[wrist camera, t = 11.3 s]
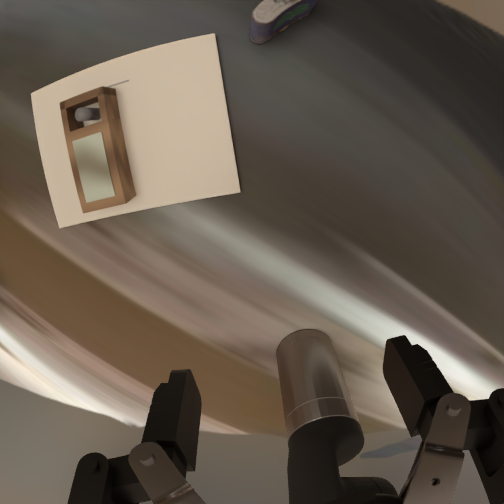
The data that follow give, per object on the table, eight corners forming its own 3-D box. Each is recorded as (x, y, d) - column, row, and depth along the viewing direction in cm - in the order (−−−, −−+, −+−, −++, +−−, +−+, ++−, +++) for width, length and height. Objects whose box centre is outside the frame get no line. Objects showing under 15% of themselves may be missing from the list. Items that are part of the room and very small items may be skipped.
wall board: (240, 190, 39) (240, 201, 34) (63, 225, 40) (43, 239, 35) (215, 35, 32) (211, 22, 26) (35, 93, 32) (11, 93, 27)
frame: (136, 195, 38) (125, 204, 34) (96, 204, 38) (82, 214, 34) (115, 88, 32) (101, 86, 29) (74, 103, 33) (58, 102, 29)
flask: (257, 48, 33) (263, 22, 23) (242, 32, 32) (242, 1, 22) (315, 12, 30) (339, -20, 21) (300, -5, 30) (319, -40, 20)
